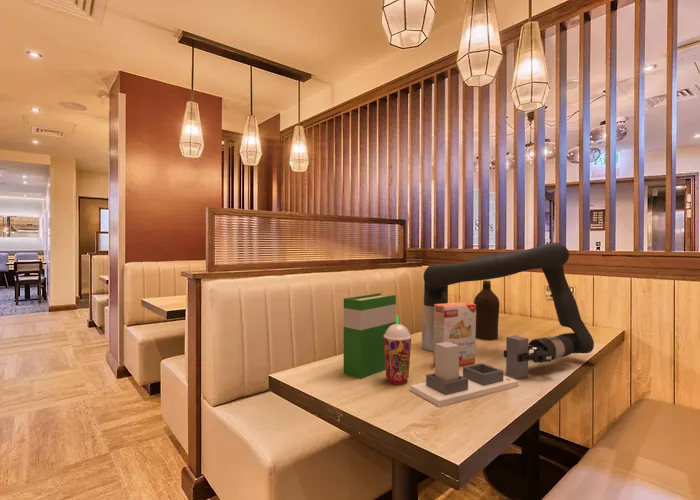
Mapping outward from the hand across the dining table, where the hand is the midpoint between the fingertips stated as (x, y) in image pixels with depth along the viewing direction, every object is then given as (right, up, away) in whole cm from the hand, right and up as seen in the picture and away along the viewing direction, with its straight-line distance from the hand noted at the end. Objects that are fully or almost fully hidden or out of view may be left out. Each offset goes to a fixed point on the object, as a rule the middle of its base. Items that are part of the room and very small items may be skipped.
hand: (511, 356), depth 119 cm
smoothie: (-36, -7, -3) cm, 37 cm away
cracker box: (-14, -6, +13) cm, 20 cm away
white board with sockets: (-17, -7, -9) cm, 20 cm away
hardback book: (-43, -7, +7) cm, 45 cm away
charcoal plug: (+2, -6, +1) cm, 7 cm away
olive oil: (+10, -6, +50) cm, 51 cm away
